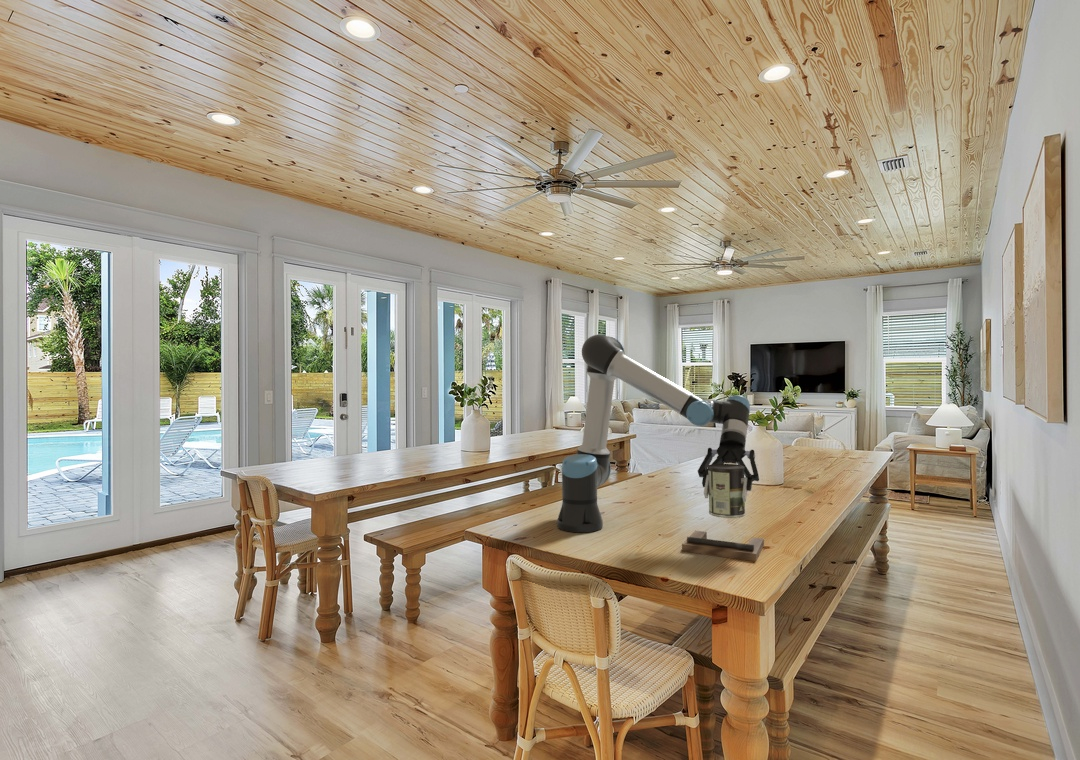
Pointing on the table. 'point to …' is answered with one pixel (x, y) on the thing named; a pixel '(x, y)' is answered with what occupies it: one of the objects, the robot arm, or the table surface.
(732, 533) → the table surface
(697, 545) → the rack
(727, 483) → the coffee can
